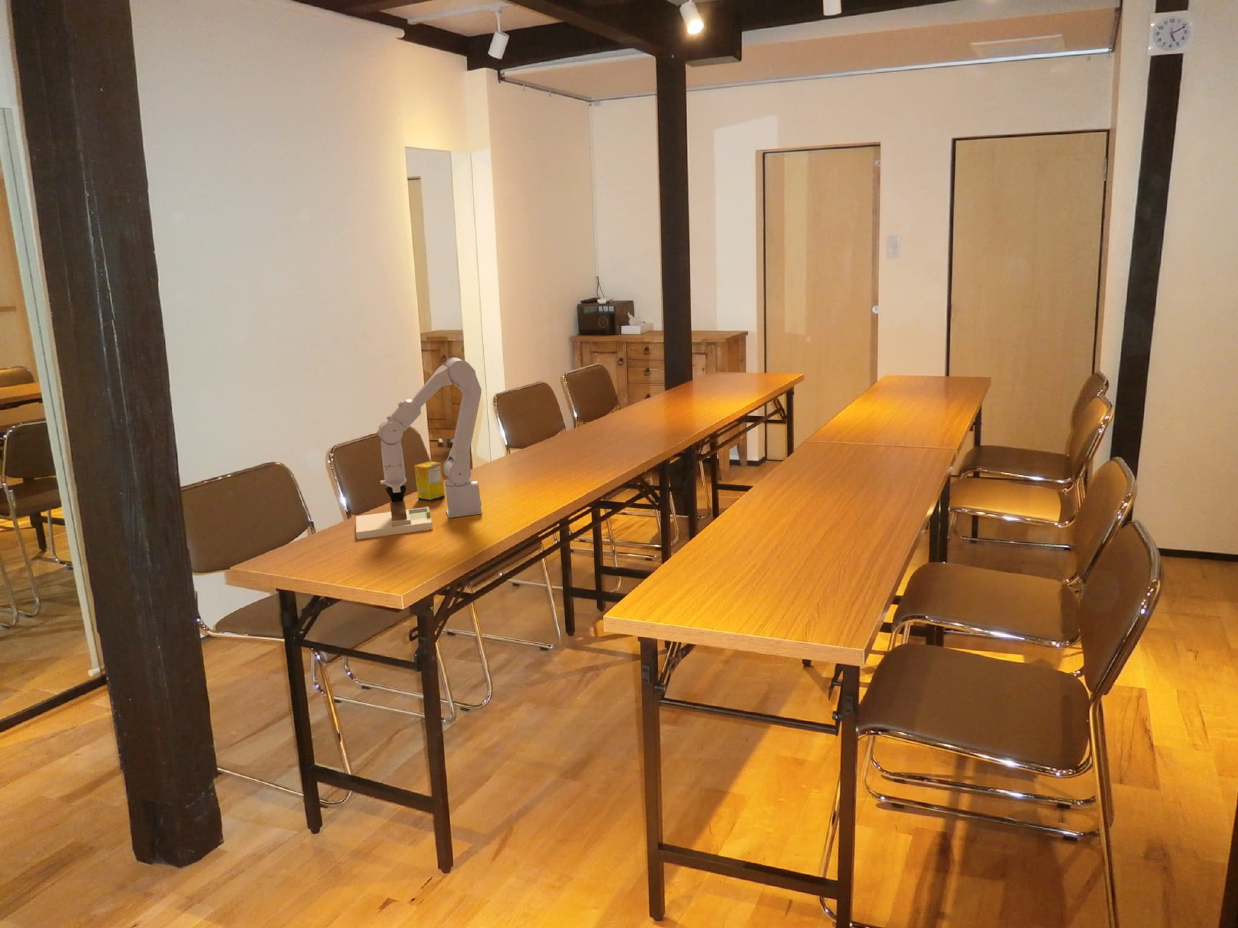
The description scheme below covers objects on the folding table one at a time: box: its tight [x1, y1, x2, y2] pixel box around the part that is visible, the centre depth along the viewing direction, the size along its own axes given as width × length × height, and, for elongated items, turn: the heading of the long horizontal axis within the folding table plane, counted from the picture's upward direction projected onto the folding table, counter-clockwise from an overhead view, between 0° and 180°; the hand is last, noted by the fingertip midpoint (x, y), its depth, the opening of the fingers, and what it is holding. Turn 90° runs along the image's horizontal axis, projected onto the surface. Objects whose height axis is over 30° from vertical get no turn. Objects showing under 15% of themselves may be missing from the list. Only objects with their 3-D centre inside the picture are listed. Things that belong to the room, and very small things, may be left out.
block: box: [389, 500, 407, 521], centre depth 269 cm, size 4×4×4 cm
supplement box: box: [413, 461, 446, 503], centre depth 295 cm, size 6×6×11 cm
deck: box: [355, 506, 434, 540], centre depth 269 cm, size 20×16×4 cm
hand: (398, 511), depth 271 cm, fingers closed, pressing on block
